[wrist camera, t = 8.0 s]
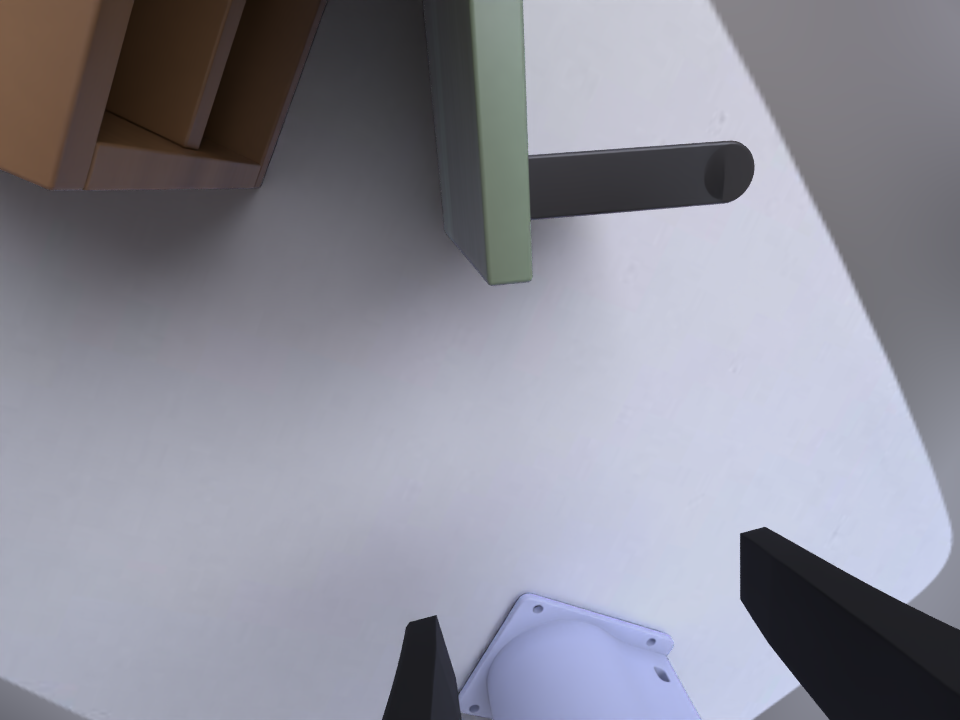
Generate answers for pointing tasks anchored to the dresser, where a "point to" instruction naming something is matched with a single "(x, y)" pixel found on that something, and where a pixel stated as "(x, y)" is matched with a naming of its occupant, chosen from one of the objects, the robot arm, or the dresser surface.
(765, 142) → the dresser surface
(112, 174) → the cupboard
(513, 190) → the door
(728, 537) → the dresser surface
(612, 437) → the dresser surface
